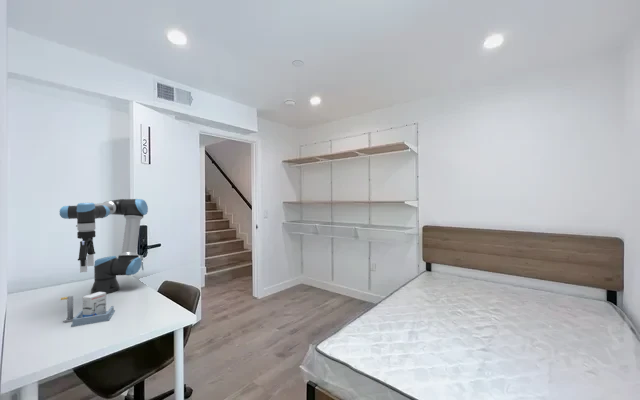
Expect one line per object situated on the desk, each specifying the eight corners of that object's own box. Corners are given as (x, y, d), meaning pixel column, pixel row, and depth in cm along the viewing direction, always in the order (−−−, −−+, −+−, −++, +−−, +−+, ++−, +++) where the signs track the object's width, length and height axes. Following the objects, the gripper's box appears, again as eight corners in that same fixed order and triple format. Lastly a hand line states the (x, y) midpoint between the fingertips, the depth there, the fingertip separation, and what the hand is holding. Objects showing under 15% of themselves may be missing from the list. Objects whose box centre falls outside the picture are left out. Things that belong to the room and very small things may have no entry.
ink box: (89, 320, 135) (89, 297, 135) (82, 319, 136) (82, 296, 136) (106, 313, 143) (106, 291, 143) (99, 312, 144) (99, 291, 145)
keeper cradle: (63, 319, 138) (63, 295, 139) (114, 311, 148) (114, 289, 149) (52, 330, 127) (52, 304, 127) (109, 320, 137) (109, 296, 137)
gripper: (84, 228, 155) (84, 264, 156) (69, 234, 134) (70, 275, 134) (100, 227, 159) (101, 262, 160) (89, 233, 137) (89, 273, 138)
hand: (87, 268), depth 147 cm, fingers open, 13 cm apart
